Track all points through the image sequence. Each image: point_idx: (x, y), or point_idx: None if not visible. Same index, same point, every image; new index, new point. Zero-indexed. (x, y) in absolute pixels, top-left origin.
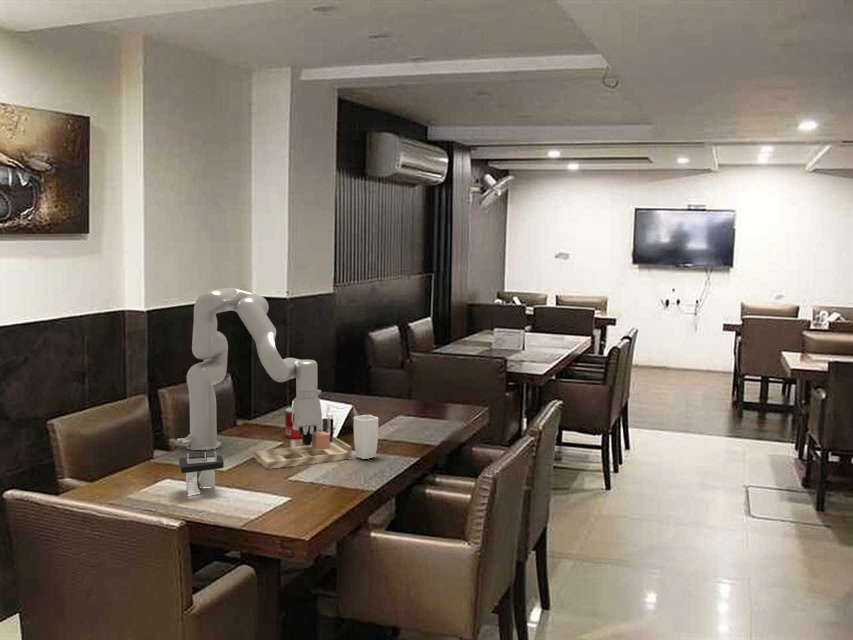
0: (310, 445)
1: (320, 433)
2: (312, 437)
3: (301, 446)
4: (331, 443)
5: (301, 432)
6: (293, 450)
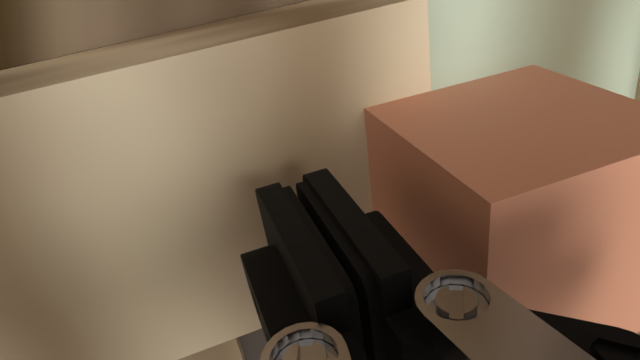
0: (357, 54)
1: (598, 255)
2: (440, 193)
3: (211, 91)
4: (626, 4)
5: (262, 356)
6: (69, 298)
